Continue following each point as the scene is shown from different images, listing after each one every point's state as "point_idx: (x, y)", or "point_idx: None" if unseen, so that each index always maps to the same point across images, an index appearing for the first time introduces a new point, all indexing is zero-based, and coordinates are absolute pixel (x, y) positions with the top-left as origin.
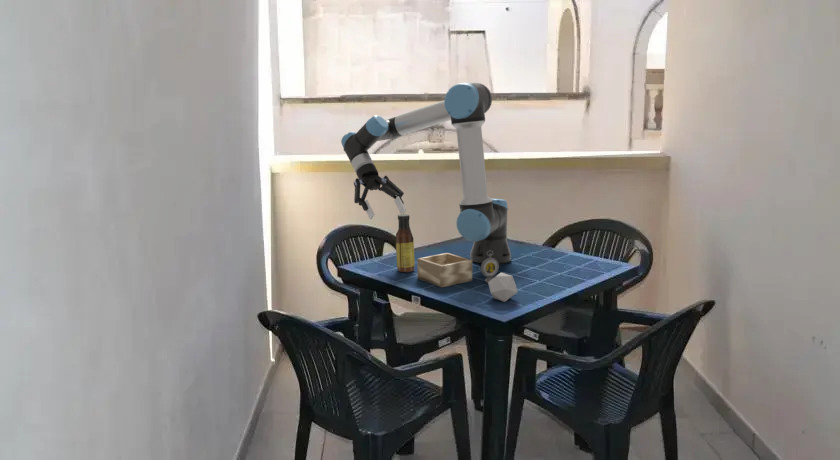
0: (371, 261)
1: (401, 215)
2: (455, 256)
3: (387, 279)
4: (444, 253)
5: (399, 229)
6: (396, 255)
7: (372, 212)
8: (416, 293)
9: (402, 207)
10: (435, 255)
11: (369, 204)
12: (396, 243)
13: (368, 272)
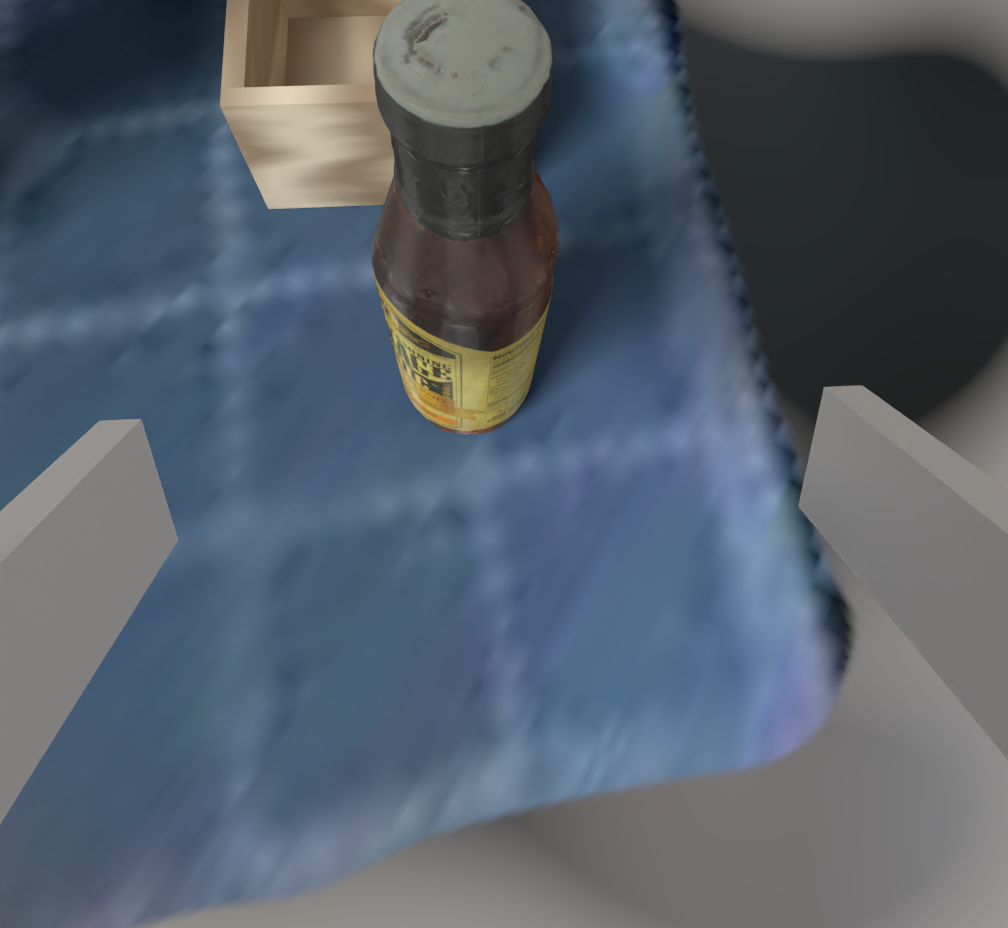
0: (547, 776)
1: (504, 46)
2: (249, 11)
3: (678, 283)
4: (255, 101)
5: (531, 192)
6: (531, 367)
7: (874, 406)
8: (664, 11)
9: (108, 471)
10: (351, 93)
11: (986, 509)
12: (551, 294)
13: (715, 489)
